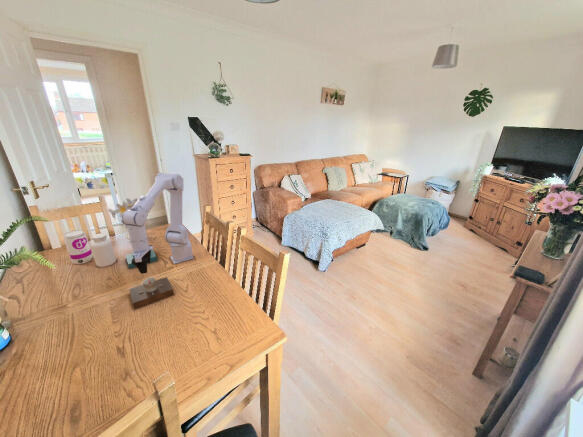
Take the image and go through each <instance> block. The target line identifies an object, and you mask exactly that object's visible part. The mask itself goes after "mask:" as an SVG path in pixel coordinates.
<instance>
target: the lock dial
mask: <svg viewBox="0 0 583 437" xmlns="http://www.w3.org/2000/svg"><path fill="white" fill-rule="evenodd" d="M156 280H157V279H156V278H155V277H147V278H146V279H144V280H143V281H142V285H144V289H145V292H148V293H149V292H153V291H155V290H156V289H157V284H156Z"/></svg>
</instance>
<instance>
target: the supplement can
mask: <svg viewBox="0 0 583 437" xmlns="http://www.w3.org/2000/svg"><path fill="white" fill-rule="evenodd" d="M62 239H63V242H64V245H65V247H66V251H67V253H68V256H69V259H70V261H71V263H72V264H74V265H82V264H86V263H88V262H90V261H91V260H93V259H94V256H93V253H92V249H91V246H90V242H89V239H88V236H87V233H86V232H85V231H84V230H82V229H75V230H71V231H67V232H66V233H64V234H63V237H62Z"/></svg>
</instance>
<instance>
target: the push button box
mask: <svg viewBox="0 0 583 437" xmlns="http://www.w3.org/2000/svg"><path fill="white" fill-rule="evenodd" d="M125 259H126V262H127V266H128V269H129V270H131V269H134V268H137V267H136V266H135V265H134V264H132V262H131V261H132V259H135V256H134V254H133V252H132V253H129V254H125ZM154 262H158V258H157V255H156V253H155V251H154V248H153V249H152V250H151V256H150V263H147V265H148V264H151V263H154Z"/></svg>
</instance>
